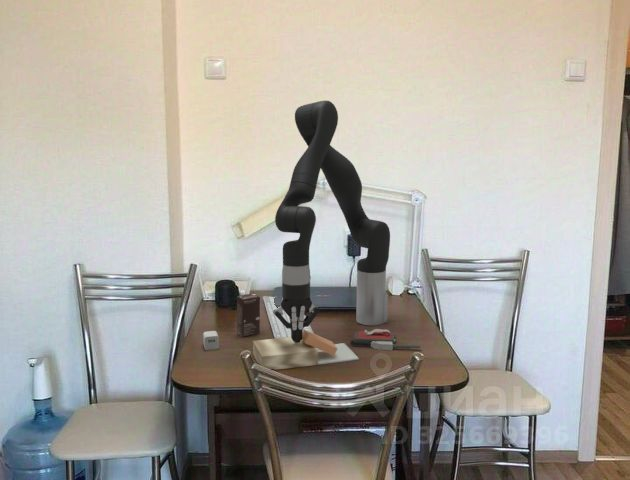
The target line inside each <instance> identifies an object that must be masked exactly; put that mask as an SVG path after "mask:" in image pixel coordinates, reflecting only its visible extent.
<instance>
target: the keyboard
mask: <svg viewBox="0 0 630 480" xmlns="http://www.w3.org/2000/svg"><path fill="white" fill-rule="evenodd" d="M275 297H276V296H265V295H264V296H262V299H263V303H264V307H265V310H266V313H267V317H268V321H269V324H270V328H271V331H272V335H273V339H276V338H286V337H291V329H287V328H286V327H285V326H284V325H283V323H282V322H281V321H280V320H279V319H278V318H277V317H276V315H275V314H274V313H273V311H274V310H275V309H276V310H277V309H278V308H279V307H278V308H277V307H276V306H275V305H274V304H275V303H274V298H275ZM306 316H307V315H306V314H305V315H304V319H305V317H306ZM283 317H284V319H285V320H286V321H287V322H289V323H290V319H289V316H288V315H287V314H286V312H285V311H284V310H283ZM296 319H297V318H296ZM304 329H305V330H307V331H309V332H311V333H314V330H313V329H312V327H311V324H310V325H309V326H308V327H304V328H303V330H304ZM303 330H302V332H303Z"/></svg>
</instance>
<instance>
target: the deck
mask: <svg viewBox="0 0 630 480" xmlns="http://www.w3.org/2000/svg"><path fill="white" fill-rule="evenodd" d="M252 355H253V357H254V359H255V361H256V362H257V364H258V363H259V364H261V365H263V366H266V367H268V368H271V369H274V370H273V371H275V370H284V369H292V368H300V367H308V366H311V367H312V366H317V365H318V350H317V349H316V348H315V347H313V346H310V345H308V344H306V343H305V342H304V341H303V339H302V340H300V342H299V343H295V342H294V341H293V340H292V338H291V337H286V338H276V339H275V338H270V339H258V340H252ZM259 364H258V365H259Z"/></svg>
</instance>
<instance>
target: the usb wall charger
mask: <svg viewBox="0 0 630 480" xmlns="http://www.w3.org/2000/svg"><path fill="white" fill-rule="evenodd" d="M219 339H220V338H219V335H218V332H217V331H216V330H210V331H204V332H203V333H202V341H203V347H204V350H205V351H210V350H219V348H220V341H219Z"/></svg>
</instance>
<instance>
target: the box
mask: <svg viewBox="0 0 630 480" xmlns="http://www.w3.org/2000/svg"><path fill="white" fill-rule="evenodd" d="M260 297H261V296H259V295H258V294H255V293H247V294H242V295H237V296H236V334H237V335H239V336H240V337H242V338H243V337H248V336H254V335H260V332H261V330H260V329H261V328H260V327H261V325H260V324H261V319H260V318H261V317H260V316H261V314H260V311H261V298H260Z"/></svg>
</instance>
